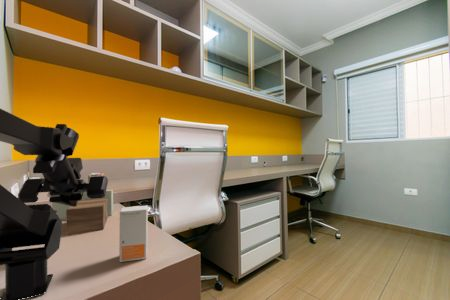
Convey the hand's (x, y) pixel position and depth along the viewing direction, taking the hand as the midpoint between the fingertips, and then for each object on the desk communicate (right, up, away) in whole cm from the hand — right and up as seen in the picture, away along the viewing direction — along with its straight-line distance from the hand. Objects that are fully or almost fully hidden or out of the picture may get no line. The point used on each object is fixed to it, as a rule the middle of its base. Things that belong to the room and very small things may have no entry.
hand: (75, 205), depth 62 cm
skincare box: (+22, -10, -10) cm, 26 cm away
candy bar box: (-12, -11, +30) cm, 34 cm away
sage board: (-12, -10, +22) cm, 27 cm away
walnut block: (-4, -10, +12) cm, 17 cm away
